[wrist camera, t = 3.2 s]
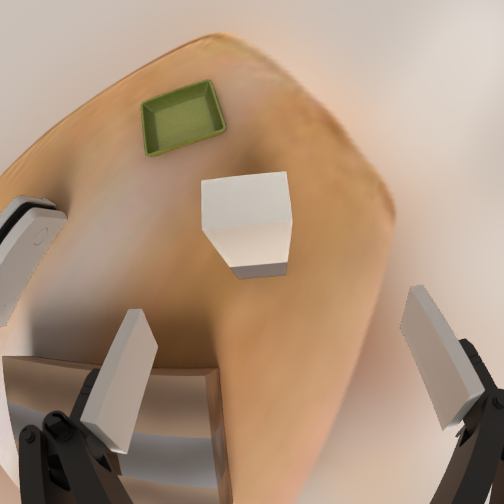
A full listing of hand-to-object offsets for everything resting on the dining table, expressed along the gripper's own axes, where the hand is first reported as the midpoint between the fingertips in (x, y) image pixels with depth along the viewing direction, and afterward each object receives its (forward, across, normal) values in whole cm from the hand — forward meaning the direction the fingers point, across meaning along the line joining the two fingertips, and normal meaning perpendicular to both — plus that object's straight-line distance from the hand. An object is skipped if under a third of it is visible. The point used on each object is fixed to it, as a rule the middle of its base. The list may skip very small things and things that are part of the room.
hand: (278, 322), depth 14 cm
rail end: (+12, -1, -4) cm, 12 cm away
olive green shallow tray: (+24, -8, +8) cm, 26 cm away
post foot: (0, -16, -15) cm, 22 cm away
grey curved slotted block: (+13, -28, -3) cm, 31 cm away
